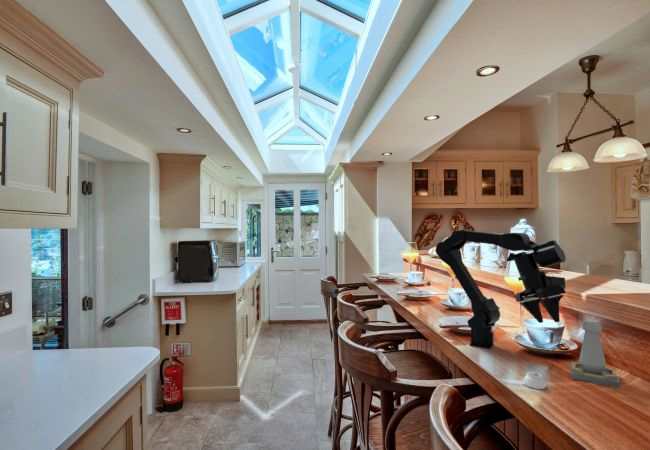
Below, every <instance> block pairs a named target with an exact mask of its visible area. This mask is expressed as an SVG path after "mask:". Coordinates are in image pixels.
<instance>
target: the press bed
mask: <svg viewBox="0 0 650 450" xmlns="http://www.w3.org/2000/svg"><path fill="white" fill-rule="evenodd" d="M570 377H571V378H570V379H571V380H577V381H581V382H585V383H591V384H596V385H597V384H598V385H601V386H607V387H613V388H617V389H620V388H621V381H620V379H619V376H618V374H617V371H616V369H613V368H610V367H607V366H605V369H604V370H603V372H602V374H594V373H589V372H586V371H585V370H583V369H582V366H581V364H580V362H579V361H578V362H575V361H570Z"/></svg>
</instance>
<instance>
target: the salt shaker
mask: <svg viewBox="0 0 650 450" xmlns="http://www.w3.org/2000/svg"><path fill="white" fill-rule="evenodd" d="M581 327H582V330H583V331H584V335H583V340H582V344H581V350H580V354H579V359H578V362H580V364H581V366H582V369H583V370H585V371H586V372H589V373H594V374H602V372H603V370H604V369H605V367H607V366H606V365H607V363H606V362H607V361H606V358H605V354H604V349H603V345H602V339H601V335H600V334H601V333H602V332H603V325H602V324H600V323H598V322H595V321H584V322H583V323H582V326H581Z"/></svg>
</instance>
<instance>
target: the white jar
mask: <svg viewBox="0 0 650 450" xmlns="http://www.w3.org/2000/svg"><path fill="white" fill-rule="evenodd" d="M522 383H523V385H525V386H527V387H529V388H531V389H535V390H536V389H537V390H543V389H546V388H547V384H546V382H545V380H544V378H543V377H542V374H541V373H538V372H534V371H529V372H527V374H526V375H525V376H524V378H523V380H522Z"/></svg>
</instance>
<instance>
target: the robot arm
mask: <svg viewBox="0 0 650 450" xmlns="http://www.w3.org/2000/svg"><path fill="white" fill-rule="evenodd" d="M467 242H472V243H480V244H488V245H495V246H497V247H500V248H502V249H504V250H508V251H512V252H511V253H509V255H508V256H507V258H506V262H513V261H514V264H515V266H516V268H517V271H518V274H519V277H517V279H518V281H519V282H520V281H521V282H522V284H523V286H524V287H523V288H524V290H522V291H521V292H517V293H515V295H514V298H515V301H516V303H519V305H521V306H522V307H523V308H524V309H525V310H526V311H527V312H528V313H529V314H530V315H531V316H532V317H533V318H534V319H535V320H536V321H537V322H538V323H540V324H541V323H543V322H544V319H543V315H542V311H541V308H540V304H541V306H542V307H543V308H544V310H545V311H546V312H547V313H548V315H549V316H550V317H551V320H553V321H554V323H559V322H560V301H561V300H562V298H563V297H564V296H565V295H564V294H566V293H567V292H566V290H565V289H566V288H567V287H566V278H565V277H560V276H549V275H547V273H546V272H545V271H541V270H540V267H539V266H542V267H543V268H546V267H550V266H554V265H555V266H556V265H558V264H561V263H565V262H566V254H565V251H564V250H563V249H562V247H561V246H560V245H559V244H558V242H557V240H555V239H554V240H550V241H547V242H544V243H542V244H538V243H536V242H534V241H532V240H531V237H530V236H529V235H528V234H527V233H524V232H505V233H504V232H503V233H493V232H485V231H477V230H469V229H458V230H457V231H456V232H454V233H453V234H452V235H450V236H448V237H447V238H445V239H444V240H442V241H440V242H438V243H437V244H436V246H435V254H436V255H437V256H438V257H439V258H440V260H441V261H442V262H443V263H445V264H446V265H448V266H449V268H450V269H451V271H452V273H453V275H454V276H455V278H456V280H457V281H458V283H459V285H460V286H461V289H463V292H464V293H465V294H466V295H467V298H468V299H469V301H470V304H471V305H470V306H471V311H472V315H473V316H472V317H470V318H469V319H468V320H467V325H468V328H470V342H469V346H472V347H477V348H483V349H489V350H491V348H492V347H493V346H494V345H495V332H494V331H493V327H495V324H496V323H497V322H499V320H500V318H501V311H500V307H499V306H498V305H497V303H496V302H495V301H496V300H495V299H494V298H492V297H491V298H488V297H486V296H485V295H484V293H483V292H482V291H481V289H480V287H479V286H478V284H477V283H476V281H475V279H474V277H473V276H472V274H471V272H469V269H468V268H467V267H466V265H465V264H464V261H463V257H462V252H461V249H462V248H464V247H465V244H467ZM519 251H521V252H519ZM528 251H529V252H530V251H531V252H530V253H527V252H528ZM513 252H519V253H513Z"/></svg>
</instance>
